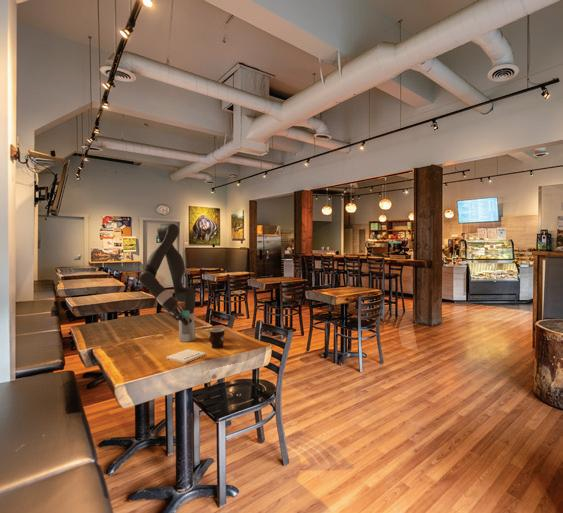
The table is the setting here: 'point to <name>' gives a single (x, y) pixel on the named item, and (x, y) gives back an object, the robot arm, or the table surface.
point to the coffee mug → (217, 338)
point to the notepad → (185, 356)
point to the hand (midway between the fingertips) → (189, 323)
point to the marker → (187, 327)
